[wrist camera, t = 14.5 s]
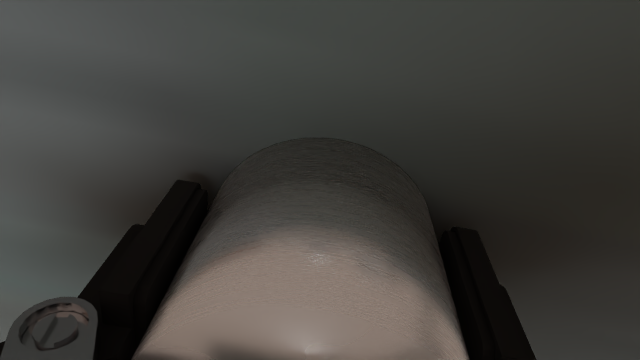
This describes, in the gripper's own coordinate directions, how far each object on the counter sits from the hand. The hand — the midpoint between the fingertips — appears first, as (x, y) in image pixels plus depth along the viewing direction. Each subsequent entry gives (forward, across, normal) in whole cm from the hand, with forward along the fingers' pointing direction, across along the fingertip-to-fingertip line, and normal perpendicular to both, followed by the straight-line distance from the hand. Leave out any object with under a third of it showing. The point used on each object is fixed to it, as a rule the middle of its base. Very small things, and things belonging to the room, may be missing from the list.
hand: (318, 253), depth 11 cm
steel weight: (+1, 0, 0) cm, 1 cm away
